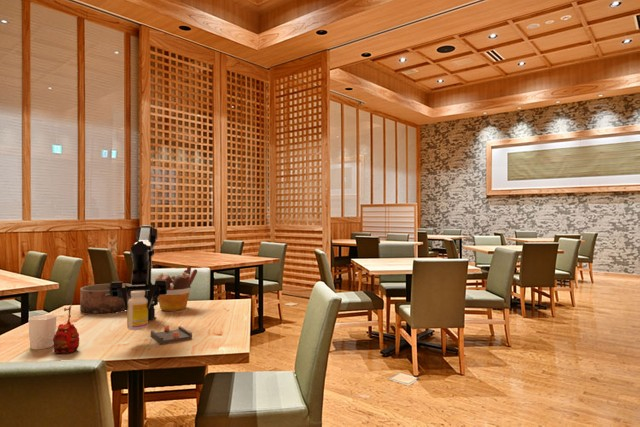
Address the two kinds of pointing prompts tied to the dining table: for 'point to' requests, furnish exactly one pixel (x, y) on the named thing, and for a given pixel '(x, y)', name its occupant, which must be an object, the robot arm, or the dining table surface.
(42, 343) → the white cup
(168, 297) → the bucket of meat
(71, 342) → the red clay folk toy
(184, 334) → the tray
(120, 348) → the dining table surface
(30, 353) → the dining table surface
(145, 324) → the supplement bottle
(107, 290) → the cooking pot
